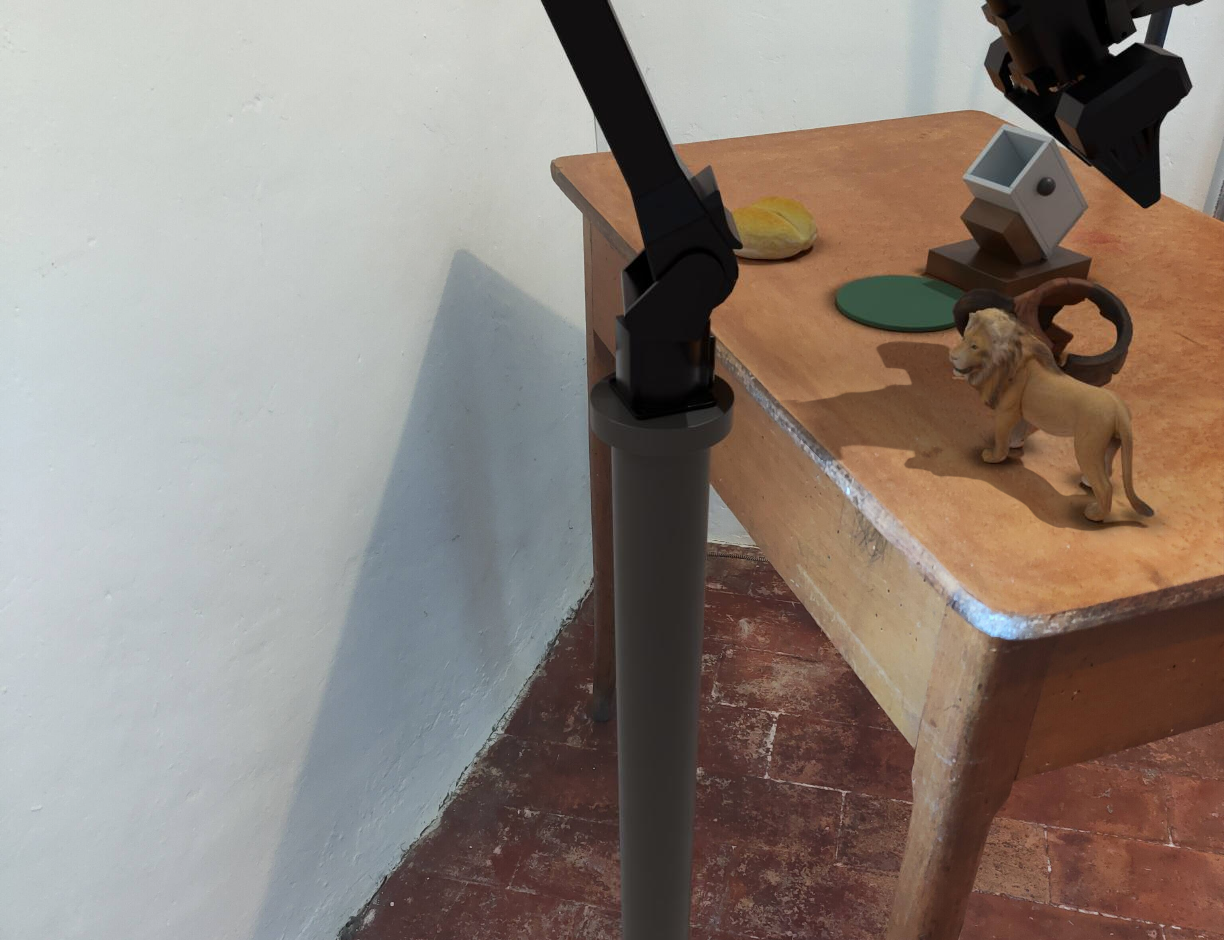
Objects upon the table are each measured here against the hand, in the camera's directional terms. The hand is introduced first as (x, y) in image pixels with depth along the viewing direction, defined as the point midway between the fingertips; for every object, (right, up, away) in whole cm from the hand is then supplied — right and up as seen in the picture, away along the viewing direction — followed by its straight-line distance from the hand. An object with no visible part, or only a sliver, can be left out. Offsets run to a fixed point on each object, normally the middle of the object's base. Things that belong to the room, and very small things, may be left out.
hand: (1123, 182), depth 71 cm
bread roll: (-20, +5, +28) cm, 35 cm away
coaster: (-10, -3, +17) cm, 20 cm away
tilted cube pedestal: (0, 0, +21) cm, 21 cm away
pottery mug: (-4, -12, +6) cm, 14 cm away
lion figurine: (-8, -20, -4) cm, 22 cm away
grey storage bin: (0, +2, +20) cm, 20 cm away
